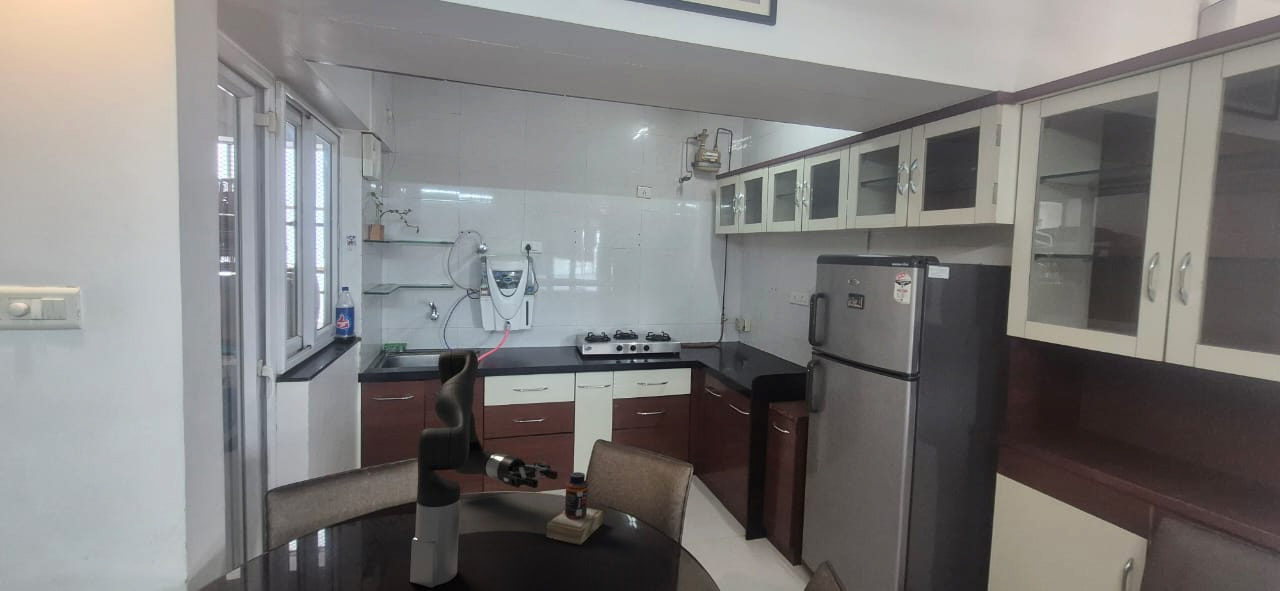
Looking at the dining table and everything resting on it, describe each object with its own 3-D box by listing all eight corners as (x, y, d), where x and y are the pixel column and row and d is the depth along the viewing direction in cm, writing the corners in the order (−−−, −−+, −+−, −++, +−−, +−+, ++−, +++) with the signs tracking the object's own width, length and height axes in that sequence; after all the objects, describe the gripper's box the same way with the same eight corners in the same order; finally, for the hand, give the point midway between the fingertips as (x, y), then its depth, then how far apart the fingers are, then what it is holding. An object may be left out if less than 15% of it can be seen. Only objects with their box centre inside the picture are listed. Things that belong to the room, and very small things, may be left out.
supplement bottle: (584, 520, 143) (586, 478, 143) (562, 519, 143) (564, 477, 143) (587, 511, 149) (589, 471, 149) (566, 510, 149) (568, 470, 149)
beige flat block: (580, 544, 137) (581, 529, 137) (546, 537, 141) (547, 522, 141) (602, 523, 150) (602, 509, 150) (570, 517, 154) (571, 503, 154)
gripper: (488, 461, 153) (530, 473, 145) (522, 450, 165) (563, 460, 157) (486, 487, 153) (529, 501, 145) (521, 474, 165) (562, 485, 157)
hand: (547, 479), depth 151 cm, fingers open, 8 cm apart
